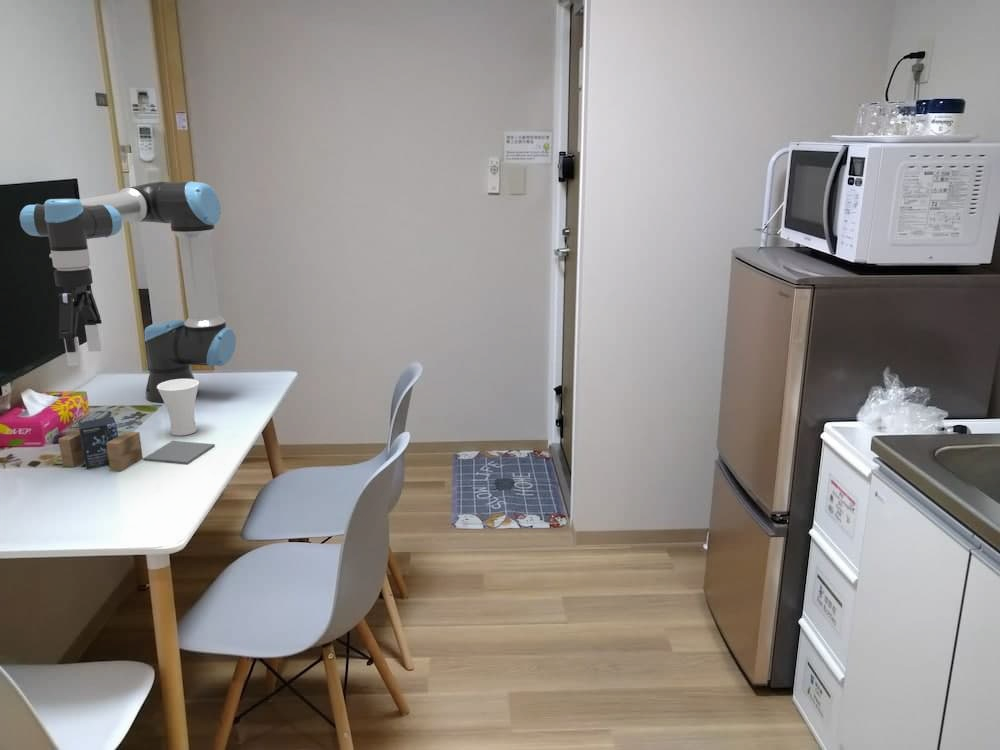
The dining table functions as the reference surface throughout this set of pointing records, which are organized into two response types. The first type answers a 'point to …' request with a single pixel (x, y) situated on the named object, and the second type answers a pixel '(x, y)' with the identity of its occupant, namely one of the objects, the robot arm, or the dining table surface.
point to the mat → (179, 452)
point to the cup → (180, 404)
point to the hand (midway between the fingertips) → (85, 358)
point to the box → (97, 440)
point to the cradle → (119, 450)
